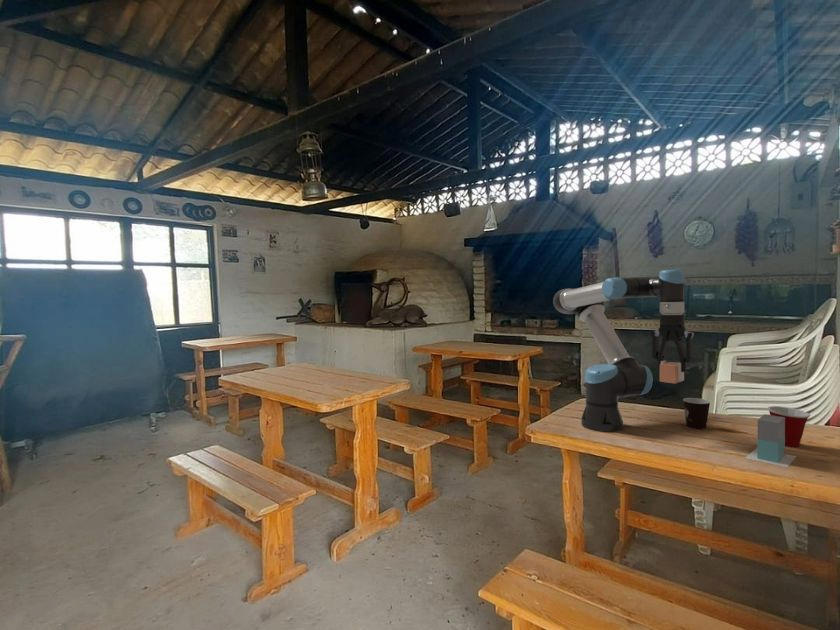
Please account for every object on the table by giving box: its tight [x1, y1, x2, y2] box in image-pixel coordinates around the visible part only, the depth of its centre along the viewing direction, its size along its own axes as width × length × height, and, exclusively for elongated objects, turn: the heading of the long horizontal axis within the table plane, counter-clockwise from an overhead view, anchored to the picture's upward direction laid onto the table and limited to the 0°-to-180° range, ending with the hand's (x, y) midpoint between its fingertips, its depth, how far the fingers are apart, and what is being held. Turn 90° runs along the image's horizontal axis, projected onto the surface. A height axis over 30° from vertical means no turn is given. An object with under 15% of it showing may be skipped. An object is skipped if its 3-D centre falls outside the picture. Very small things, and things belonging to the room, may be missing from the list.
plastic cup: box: [767, 405, 811, 448], centre depth 144 cm, size 11×11×12 cm
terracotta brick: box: [659, 361, 679, 384], centre depth 155 cm, size 5×8×6 cm, turn 129°
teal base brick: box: [756, 437, 786, 463], centre depth 134 cm, size 5×8×6 cm, turn 129°
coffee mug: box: [682, 397, 711, 430], centre depth 168 cm, size 12×9×10 cm
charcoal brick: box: [757, 414, 785, 443], centre depth 134 cm, size 5×8×6 cm, turn 130°
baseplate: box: [745, 447, 797, 468], centre depth 135 cm, size 10×12×1 cm
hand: (672, 379), depth 155 cm, fingers closed on terracotta brick, 5 cm apart
